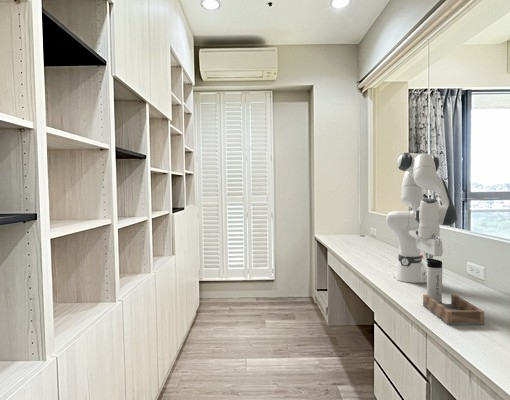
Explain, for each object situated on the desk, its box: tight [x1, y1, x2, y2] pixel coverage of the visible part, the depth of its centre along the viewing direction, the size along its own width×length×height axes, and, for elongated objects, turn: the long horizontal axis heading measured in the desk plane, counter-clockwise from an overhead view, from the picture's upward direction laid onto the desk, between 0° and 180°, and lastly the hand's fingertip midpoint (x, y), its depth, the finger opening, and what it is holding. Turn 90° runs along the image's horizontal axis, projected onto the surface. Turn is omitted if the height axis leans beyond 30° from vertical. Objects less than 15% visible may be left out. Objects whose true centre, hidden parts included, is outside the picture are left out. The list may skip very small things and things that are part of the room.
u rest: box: [422, 293, 485, 326], centre depth 155 cm, size 22×14×5 cm, turn 179°
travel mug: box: [425, 258, 443, 304], centre depth 170 cm, size 6×7×20 cm
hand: (428, 262), depth 176 cm, fingers closed
